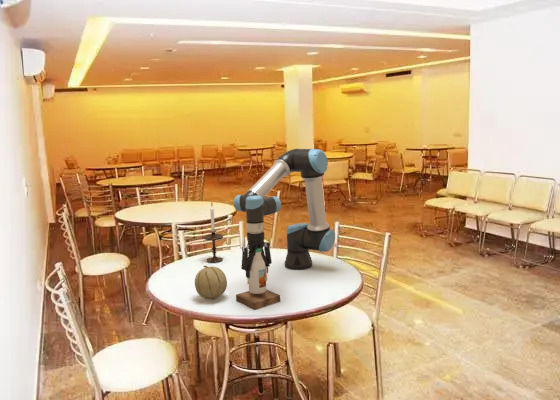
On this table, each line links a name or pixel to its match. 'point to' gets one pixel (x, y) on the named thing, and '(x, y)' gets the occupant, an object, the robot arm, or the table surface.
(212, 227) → the candlestick
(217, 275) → the cantaloupe
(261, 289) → the milk bottle
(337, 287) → the table surface
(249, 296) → the block
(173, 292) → the table surface
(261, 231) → the robot arm
